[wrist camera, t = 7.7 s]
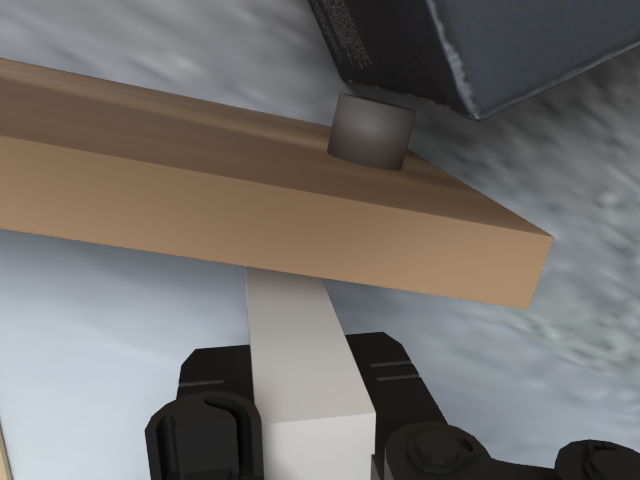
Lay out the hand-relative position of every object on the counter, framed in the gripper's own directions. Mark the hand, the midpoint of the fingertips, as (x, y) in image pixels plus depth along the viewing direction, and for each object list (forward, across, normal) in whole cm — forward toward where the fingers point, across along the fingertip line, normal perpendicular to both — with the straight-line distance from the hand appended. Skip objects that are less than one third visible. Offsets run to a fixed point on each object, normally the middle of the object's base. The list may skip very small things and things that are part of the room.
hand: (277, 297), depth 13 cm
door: (+5, -3, +4) cm, 7 cm away
